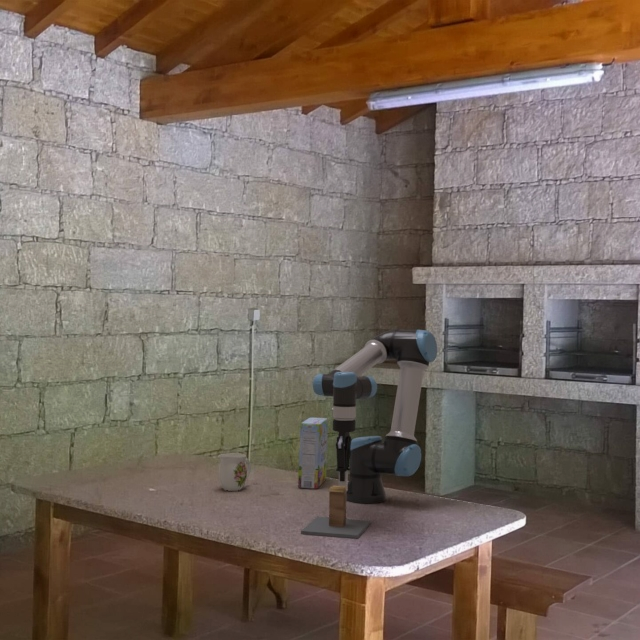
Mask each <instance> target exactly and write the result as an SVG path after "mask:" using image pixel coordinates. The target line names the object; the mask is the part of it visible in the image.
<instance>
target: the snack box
mask: <svg viewBox="0 0 640 640" xmlns="http://www.w3.org/2000/svg"><path fill="white" fill-rule="evenodd" d="M328 426H329V419H328V418H326V417H309V418H307V419H305V420H303V421H302V422H300V429H299V430H300V431H299V453H298V454H299V457H298V459H299V460H298V478H297V479H298V480H297V487H298V488H299V489H310V490H311V489H312V490H318V488H319V487H320V486H321V485H322V484H323V483H324V482H325V480H326V479H327V457H328V456H327V454H328V453H327V452H328V451H327V450H328V430H329V429H328Z"/></svg>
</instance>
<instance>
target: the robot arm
mask: <svg viewBox="0 0 640 640" xmlns="http://www.w3.org/2000/svg"><path fill="white" fill-rule="evenodd" d="M437 356H438V344H437V341H436V337H435V336H434V334H433V333H432V331H429V330H425V329H399V328H396V329H395V328H394V329H389V330H387V331H384V332H382V333H379V334H377V335H375V336H374V337H372V338H370V339H369V340H368V341H367V342H366V343H365V344H364V346H363V348H361V349H360V350H359V351H357V352H356V353H354V354H353V355H352V356H350V357H349V358H348V359H346V360H345V361H343V362H342V363H341V364H339V365H338V366H337V367H335V368H333V370H331V371H329V372H328V373H318V374H316V375H315V376H314V377H313V381H312V388H313V389H312V390H313V392H314V393H315V394H316V395H318V396H323V397H332V398H333V401H332V408H331V411H332V418H334V419H332V431H334V432H337V433H338V436H337V437H336V442H335V447H336V467H337V468H336V469H335V471H336V472H338V486H346V501H347V502H352V503H357V504H358V503H360V504H375V503H377V504H378V503H382V502H385V501H386V498H387V497H386V495H387V494H386V490H385V487H384V484H383V480H382V474H385V475H391V476H398V477H410V476H413V475H414V474H415V473H416V472H417V471H418V468H419V467H420V465H421V462H422V449H421V447H420V446H419V444H418V439H417V438H416V437H415V430H416V423H417V417H418V411H419V403H420V398H421V390H422V385H423V384H422V383H423V378H424V373H425V371H427V370H428V369H429V367H430V363H432V362H435V360H436V358H437ZM385 361H397V365H398V367H399V377H398V381H397V387H396V388H397V389H396V394H395V401H394V407H393V413H392V420H391V428H390V431H389V432H388V433H387V434H386V435H385V438H384V440H383V438H382V436H380V435H371V436H370V435H369V436H360V437H355V438H353V439H352V436H350V435H351V434H350V433H352V432H355V431H356V426H357V425H356V423H357V422H356V420H355V419H356V417H357V405H356V404H357V400H366V399H370V398H373V397H374V396H375V395H376V394H377V391H378V383H377V381H376V379H374V378H373V376H370V375H369V376H368V375H364V374H365V373H366V372H368V371H369V370H370V369H372V368H373V367H374V366H375V365H377V364H378V365H380V364H382V363H384V362H385ZM348 478H349V480H348Z"/></svg>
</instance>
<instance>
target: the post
mask: <svg viewBox="0 0 640 640" xmlns="http://www.w3.org/2000/svg"><path fill="white" fill-rule="evenodd" d="M328 492H329V497H328V499H329V501H328V503H329V504H328V505H329V506H328V517H329V526H337V527H343V526H344V525H345V524H346V519H347V500H346V486H339V485H331V487H329V490H328Z"/></svg>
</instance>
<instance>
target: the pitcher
mask: <svg viewBox="0 0 640 640" xmlns="http://www.w3.org/2000/svg"><path fill="white" fill-rule="evenodd" d="M217 458H218V459H220V462H219V466H218V479H219V483H220V486H221V487H222V489H223V490H224V491H226V490H228V492H237V491H238V490H239V491H241V490H242V489H243V487H244V486H245V483H246V481H247V479H248V477H249V476H250V474H251V469H252V465H251V462H250V459H249V458H247V455H246V454H244V453H240V452H239V453H237V452H234V453H233V452H232V453H231V452H229V453H221V454H219V455H217ZM239 491H238V492H239Z"/></svg>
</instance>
